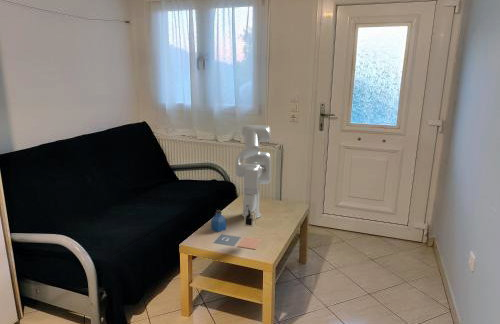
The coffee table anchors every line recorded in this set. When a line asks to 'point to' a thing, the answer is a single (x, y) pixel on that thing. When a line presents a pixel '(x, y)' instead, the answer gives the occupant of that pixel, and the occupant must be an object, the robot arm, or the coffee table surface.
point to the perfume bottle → (218, 222)
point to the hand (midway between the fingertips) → (250, 222)
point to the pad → (249, 243)
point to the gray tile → (227, 240)
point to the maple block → (253, 216)
